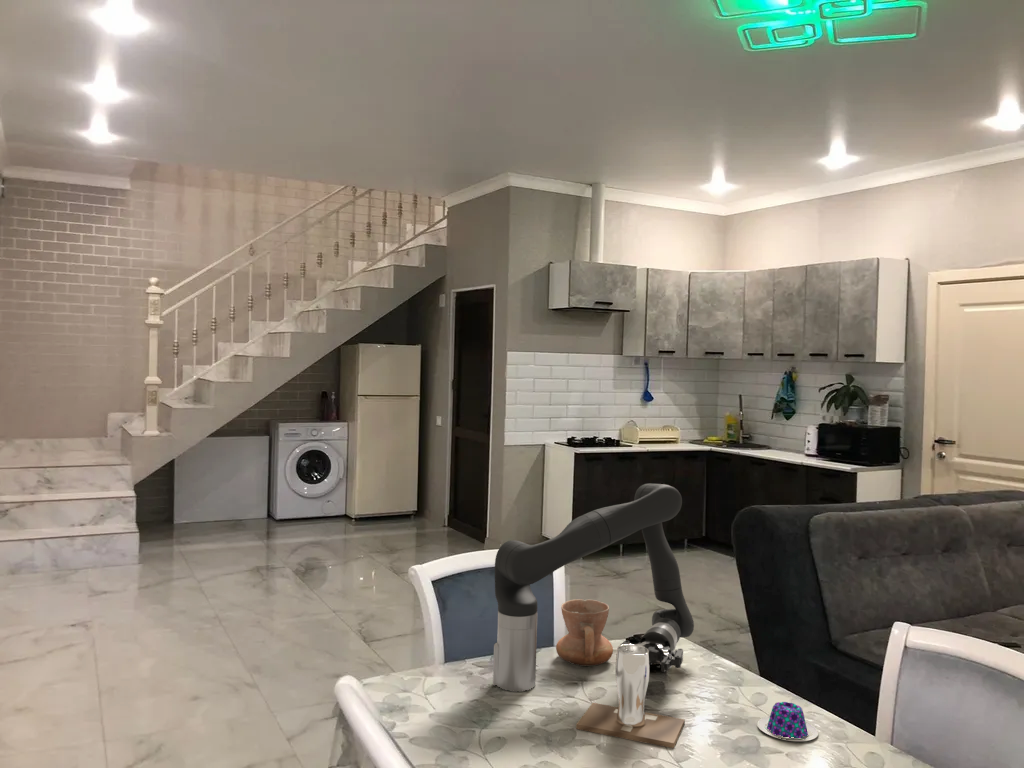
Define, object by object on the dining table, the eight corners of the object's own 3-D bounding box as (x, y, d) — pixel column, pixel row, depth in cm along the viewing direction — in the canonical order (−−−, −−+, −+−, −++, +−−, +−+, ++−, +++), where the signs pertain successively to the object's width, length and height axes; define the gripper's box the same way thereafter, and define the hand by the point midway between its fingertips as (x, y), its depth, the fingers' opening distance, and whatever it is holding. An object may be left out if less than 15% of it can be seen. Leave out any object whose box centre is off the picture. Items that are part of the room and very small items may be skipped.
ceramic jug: (554, 648, 213) (555, 595, 212) (609, 649, 212) (610, 596, 212) (557, 674, 195) (558, 617, 194) (617, 675, 194) (618, 618, 194)
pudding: (829, 743, 161) (830, 717, 161) (773, 746, 159) (773, 719, 159) (800, 718, 173) (801, 694, 173) (747, 720, 171) (748, 695, 171)
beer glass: (647, 730, 162) (649, 656, 162) (612, 726, 163) (614, 653, 163) (648, 716, 168) (650, 645, 168) (615, 712, 170) (617, 642, 170)
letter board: (576, 728, 164) (576, 723, 164) (592, 707, 175) (592, 702, 175) (673, 748, 156) (673, 742, 156) (684, 724, 167) (684, 719, 167)
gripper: (630, 622, 193) (612, 642, 178) (689, 630, 187) (676, 652, 172) (629, 653, 193) (611, 676, 178) (688, 662, 187) (675, 686, 172)
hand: (643, 664), depth 175 cm, fingers open, 8 cm apart
